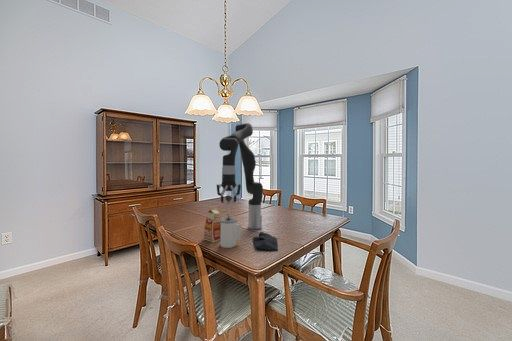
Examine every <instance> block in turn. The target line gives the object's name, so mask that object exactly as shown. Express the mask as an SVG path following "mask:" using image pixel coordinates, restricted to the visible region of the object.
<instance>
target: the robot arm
mask: <svg viewBox="0 0 512 341" xmlns="http://www.w3.org/2000/svg"><path fill="white" fill-rule="evenodd" d="M234 129H235V132H232V133H231V134H230V135H228V136H225V137H222V138H221V139H220V141H219V143H218V144H219V148H220V149H221V151H226V152H228V151H230V153H229V154H225V155H223V156H222V167H221V169H222V170H221V173H222V174H221V184H219V183H218V184H216V192H217V195H218V196H220V202H221V203H223V204H224V195H225V193H226V192H232V194H233V203H236V202H237V196H239V195H240V194H241V188H242V187H241V184H240V183H236V173H237V172H236V156H237V151H238V148H239V150H240V156H241V162H242V166H243V167H242V168H243V173H244V177H245V187H246V192H247V193H248V194H249V195H252V198H251V199H249V200H248V208H247V209H248V217H247V218H248V219H247V223H248V224H247V227H248V229H250V230H251V229H252V230H260V229H262V226H263V225H262V221H263V220H262V218H263V216H262V202H263V192H264V188H263V183H261V182H257V181H255V178H254V172H255V168H256V165H257V161H256V157H255V156H256V155H255V154H254V152H253V151H252V150H251V148H249V146H248V145H247V144H246V141H245V140H246V139H248V138H249V137H251V136H252V135H253V133H254V129H253V126H252V124H251V123H247V122H246V123H241V124H240V123H239V124H236V126H235V128H234ZM221 187H222V190H221V192H220V189H221ZM235 188H237V189H236V191H235Z"/></svg>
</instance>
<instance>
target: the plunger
mask: <svg viewBox="0 0 512 341" xmlns="http://www.w3.org/2000/svg"><path fill="white" fill-rule="evenodd" d="M232 197H233V196H231V194H227V195H226V196H225V200H226V202H227V218H228V220H229V218H230V202H231V201H232V199H233V198H232Z"/></svg>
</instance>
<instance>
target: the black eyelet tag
mask: <svg viewBox="0 0 512 341" xmlns="http://www.w3.org/2000/svg"><path fill="white" fill-rule="evenodd" d="M252 241H253V244H254V247H255V249H256V250H265V251H270V252H276V251H279V244H278V238H277V237H275V236H273V235H271V234H270V233H268V232H264V231H260V232H259V233H258V236H253V237H252Z"/></svg>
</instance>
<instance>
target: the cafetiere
mask: <svg viewBox="0 0 512 341" xmlns="http://www.w3.org/2000/svg"><path fill="white" fill-rule="evenodd" d="M237 222H238V219H237V218H235V217H230V216H229V220H228V217H222V218H220V240H219V243H220V247H222V248H224V249H231V248H234V247H236V246H237V240H238V241H240V240H242V223H237Z"/></svg>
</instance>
